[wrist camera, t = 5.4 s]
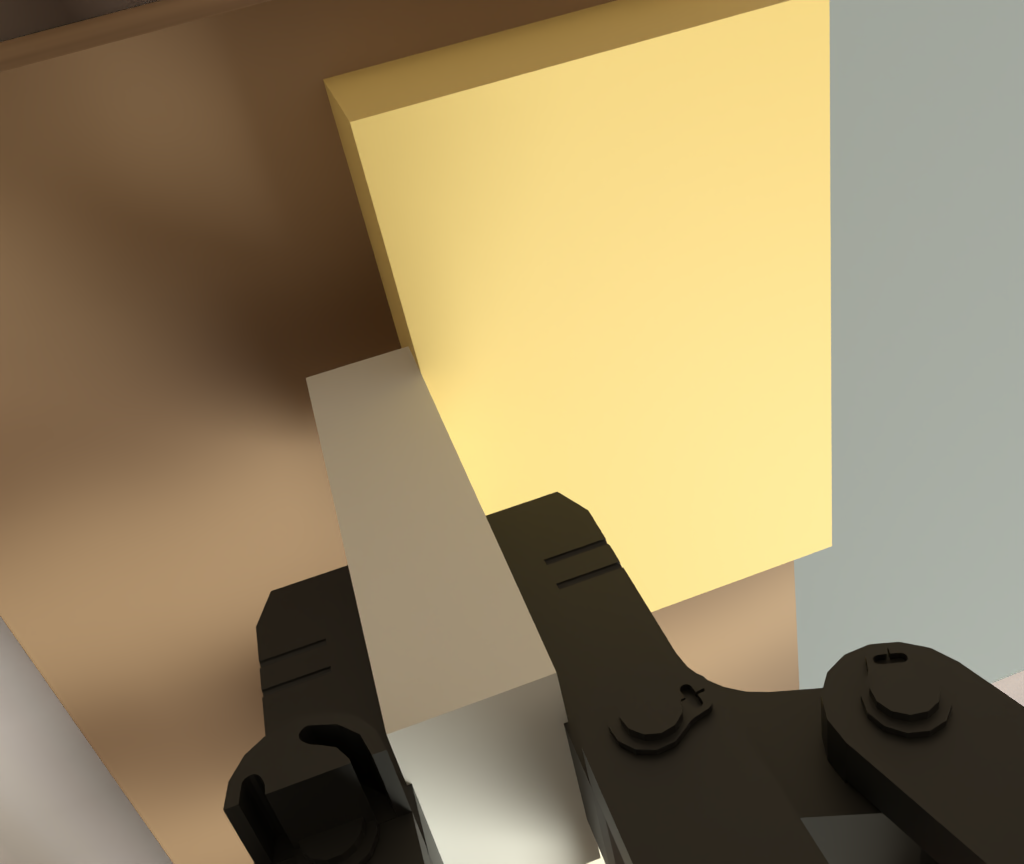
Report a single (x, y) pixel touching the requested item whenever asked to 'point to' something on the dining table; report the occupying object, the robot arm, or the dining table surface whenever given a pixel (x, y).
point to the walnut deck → (209, 372)
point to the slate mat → (924, 338)
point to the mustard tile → (620, 269)
